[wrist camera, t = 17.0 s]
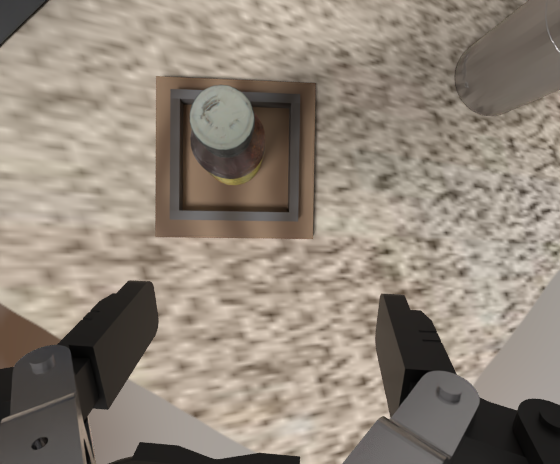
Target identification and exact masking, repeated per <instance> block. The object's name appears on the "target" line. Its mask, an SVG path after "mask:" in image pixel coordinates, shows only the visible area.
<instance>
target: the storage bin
mask: <svg viewBox="0 0 560 464" xmlns="http://www.w3.org/2000/svg"><path fill="white" fill-rule="evenodd" d="M45 1H46V0H0V44H1V43H2V42H3V41H4V40H5V39H6V38H7V37H8V36H9V35H10V34H12V33H13V32H14V31H15V30H16V29H17V28H18V27H19V26H20V25H21V24H22V23H23V22H24V21H25V20H26V19H27V18H28V17H29V16H30V15H31V14H32V13H33V12H34V11H35V10H36V9H38V8H39V7H40V6H41V5H42V4H43V3H44V2H45Z"/></svg>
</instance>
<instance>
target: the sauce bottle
mask: <svg viewBox="0 0 560 464" xmlns="http://www.w3.org/2000/svg"><path fill="white" fill-rule="evenodd" d="M189 118H190V125H191V129H192V131H191V136H190V143H191V149H192V152H193V155H194V157H195V158H196V160H197V161H198V163H199V164H200V165H201V166H202V167H203V168H204V169H205V170H206V171H207V172H208V173H209V174H210V175H212V176H213V177H214V178H215V179H217V180H218V181H220V182H222V183H224V184H227V185H240V184H244V183H246V182H248V181H250V180H251V179H252V178H253V177H254V176H255V175H256V173H257V172H258V170H259V168H260V165H261V162H262V159H263V155H264V152H265V131H264V127H263V125H262V123H261V121H260V119H259V117H258V116H257V114H256V113H255V112H254V111H253V108H252V105H251V102H250V101H249V99H248V98H247V97H246V96H245V95H244V94H243V93H242V92H241V91H239V90H238V89H236V88H233V87H231V86H228V85H214V86H211V87H209V88H206V89H204V90H203V91H201V92H200V93H199V95H198V96H197V97H196V98H195V100H194V102H193V103H192V106H191V109H190V117H189Z"/></svg>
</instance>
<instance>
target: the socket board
mask: <svg viewBox="0 0 560 464" xmlns="http://www.w3.org/2000/svg"><path fill="white" fill-rule="evenodd" d="M214 85H228V86H231V87H233V88H236V89H238V90H239V91H241V92H242V93H243V94H244V95H245V96H246V97H247V98H248V99H249V101H250V102H251V105H252V108H253V111H254V112H255V113H256V114H257V116H258V117H259V119H260V121H261V123H262V125H263V127H264V131H265V152H264V155H263V159H262V162H261V165H260V168H259V170H258V172H257V173H256V175H255V176H254V177H253V178H252V179H251V180H250V181H248V182H246V183H244V184H240V185H227V184H224V183H222V182H220V181H218V180H217V179H215V178H214V177H213V176H212V175H210V174H209V173H208V172H207V171H206V170H205V169H204V168H203V167H202V166H201V165H200V164H199V163H198V161H197V160H196V158H195V157H194V155H193V152H192V149H191V143H190V136H191V131H192V129H191V125H190V118H189V117H190V109H191V106H192V103H193V102H194V100H195V98H196V97H197V96H198V95H199V93H200V92H201V91H203V90H204V89H206V88H209V87H211V86H214ZM315 87H316V83H300V82H277V81H253V80H230V79H207V78H184V77H160V76H156V223H155V237H197V238H281V239H313V198H314V143H315Z"/></svg>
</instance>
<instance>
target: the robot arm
mask: <svg viewBox="0 0 560 464" xmlns="http://www.w3.org/2000/svg"><path fill="white" fill-rule="evenodd" d="M455 84H456V88H457V92H458V94H459V96H460V98H461V100H462V101H463V102H464V103H465V105H466V106H468V107H469V108H470V109H471V110H473V111H475V112H477V113H479V114H482V115H486V116H496V115H501V114H503V113H506V112H508V111H510V110H513V109H515V108H518V107H520V106H522V105H525V104H527V103H530V102H532V101H534V100H537V99H539V98H541V97H544V96H546V95H548V94H551V93H553V92H555V91H558V90H560V0H529V1H527V2H526V3H525V4H523V5H522V6H521V7H520V8H518V9H517V10H516V11H515V12H513V13H512V14H511V15H510V16H508V17H507V18H506V19H505V20H503V21H502V22H501V23H500V24H498V25H497V26H496V27H495V28H493V29H492V30H491V31H490V32H488V33H487V34H486V35H485V36H483V37H482V38H481V39H480V40H478V41H477V42H476V43H475V44H473V45H472V46H471V47H470V48H468V49H467V50H466V51H465V52H464V54H463V55H462V56H461V58H460V60H459V62H458V64H457V67H456V73H455ZM157 329H158V312H157V305H156V298H155V292H154V286H153V284H152V282H150V281H131V280H130V281H128V282H127V283H126V284H125V285H124V286H123V287H122V288H121V289H120V290H119V291H118V292H117V293H116V294H115V293H113V294H111V295H109V296H108V297H106V298H104V299H103V300H101V301H99V302H98V303H97V304H96V305H95V306H94V307H93V308H92V310H91V312H89V313H88V314H87V315H86V316H85V317H84V318H83V320H81V321H80V322H79V323H78V324H77V325H76V326H75V327H74V328H73V329H72V330H71V331H70V332H69V333H68V334H67V335H66V336H65V337H64V338H63V339H62V340H61V341H60V343H58V344H57V345H50V346H45V347H41V348H38V349H36V350H34V351H32V352H30V353H28V354H26V355H25V356H24V357H22V358H21V359H20V360H19V361H18V362H17V363H16V364H15V366H14V367H10V368H4V369H0V464H97V463H96V457H95V451H94V446H93V440H92V434H91V428H90V422H89V419H88V415H89V413H90V412H91V410H92V409H93V408H96V409H107V410H108V409H109V408H110V406H111V405H112V403H113V401H114V400H115V398H116V397H117V395H118V393H119V392H120V390H121V389H122V387H123V386H124V384H125V382H126V381H127V379H128V378H129V376H130V374H131V373H132V371H133V370H134V368H135V367H136V365H137V363H138V362H139V360H140V359H141V357H142V356H143V354H144V352H145V351H146V349H147V348H148V346H149V344H150V343H151V341H152V340H153V338H154V337H155V335H156V332H157ZM375 342H376V351H377V356H378V361H379V365H380V370H381V375H382V380H383V384H384V389H385V394H386V398H387V403H388V408H389V413H390V417H391V418H390V419H387V418H386V417H384V416H383V417H380V418H379V419H378V420H377V421H376V422H375V424H374V425H373V426H372V427H371V429H370V430H369V431H368V432H367V434H366V435H365V436H364V437H363V439H362V440H361V441H360V442H359V444H358V445H357V446H356V447H355V449H354V450H353V451H352V452H351V454H350V455H349V456H348V457H347V459H346V460H345V461H344V462H343V464H560V405H558V404H555V403H553V402H550V401H546V400H542V399H528V400H525V401H523V402H521V404H520V405H519V407H518V410H514V409H510V408H507V407H504V406H500V405H497V404H494V403H491V402H488V401H486V400H484V399H482V398H480V397H479V395H478V392H477V391H476V389H475V388H474V387H473V386H472V385H471V384H470V383H469V382H468V381H467V380H465V379H464V378H462V377H460V376H458V375H457V374H456V372H455V370H454V368H453V365H452V363H451V361H450V359H449V357H448V355H447V353H446V350H445V348H444V346H443V344H442V343H441V340H440V338H439V335H438V334H437V331H436V329H435V327H434V325H433V323H432V320H430V319H429V318H428V317H427V316H426V315H425V314H424V313H423V312H422V311H419V310H410V308H409V305H408V303H407V300H406V298H405V296H404V295H398V294H381V296H380V300H379V309H378V317H377V325H376V335H375ZM109 464H300V457H299V456H288V455H277V454H266V453H256V454H250V455H243V456H236V457H231V458H224V459H212V458H209V457H207V456H204V455H202V454H199V453H196V452H194V451H191V450H188V449H185V448H183V447H180V446H177V445H166V444H155V443H143V442H140V443H139V445H138V447H137V449H136V451H135V453H134V455H133V456H132V457H128V458H124V459H120V460H117V461H115V462H112V463H109Z"/></svg>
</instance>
